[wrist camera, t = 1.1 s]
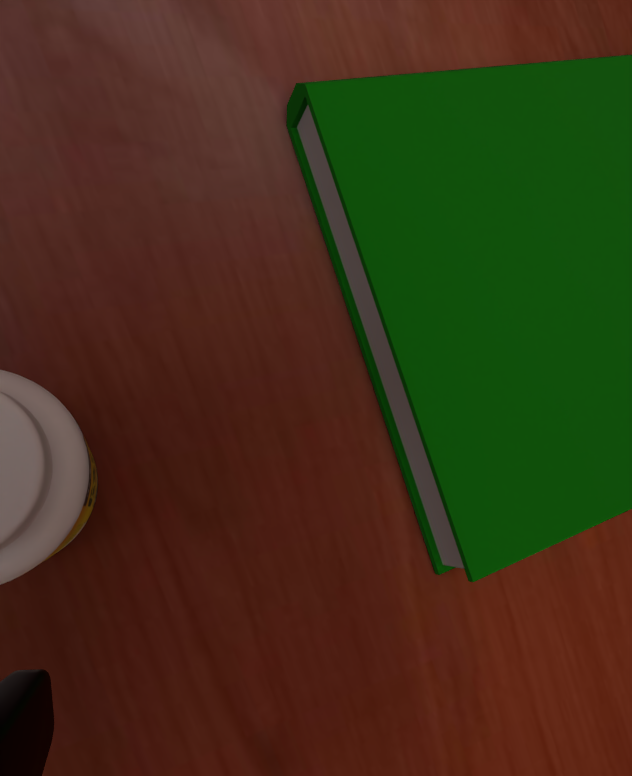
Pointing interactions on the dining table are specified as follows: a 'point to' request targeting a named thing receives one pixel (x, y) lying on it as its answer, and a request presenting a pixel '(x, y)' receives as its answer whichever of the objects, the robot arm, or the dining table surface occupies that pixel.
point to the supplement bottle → (40, 476)
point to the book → (487, 288)
